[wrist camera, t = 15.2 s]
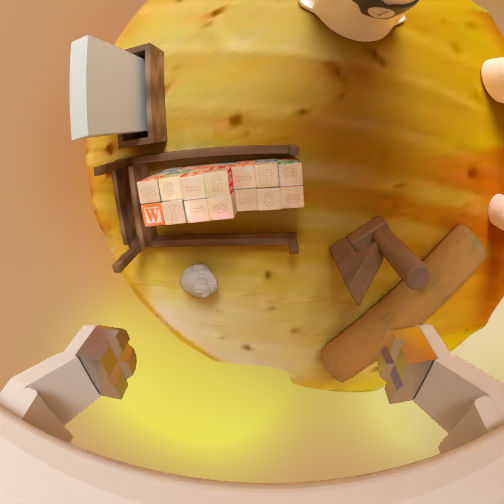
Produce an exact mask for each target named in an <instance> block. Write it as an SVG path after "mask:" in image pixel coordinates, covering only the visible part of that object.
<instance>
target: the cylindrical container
mask: <svg viewBox="0 0 504 504" xmlns="http://www.w3.org/2000/svg"><path fill="white" fill-rule="evenodd" d="M488 217H489V220H490V222H491V223H492V224H493V225H495V226H497V227H498V228H500V229H502V230H503V231H504V195H502V194H496V195H495V196H494V197H493V198H492V200H491V202H490V204H489V208H488Z"/></svg>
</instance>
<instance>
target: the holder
mask: <svg viewBox="0 0 504 504" xmlns="http://www.w3.org/2000/svg"><path fill="white" fill-rule="evenodd" d="M125 51H128V52H130V53H132V54H134V55H136V56H138V57H140V58H142V59H144V60H145V89H146V112H147V128H148V137H146V138H140V139H139V133H127V134H118V144H119V149H120V148H126V147H131V146H137V145H143V144H150V143H157V142H164V141H167V129H166V113H165V91H164V52H163V51H162V50H160V49H159V48H157V47H156V46H154V45H152V44H151V43H148V44H144V45H140V46H137V47H133V48H129V49H126V50H125Z"/></svg>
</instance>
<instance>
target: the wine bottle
mask: <svg viewBox="0 0 504 504" xmlns="http://www.w3.org/2000/svg"><path fill="white" fill-rule="evenodd" d="M481 77H482V81H483V84H484V86H485V89H486V90H487V92H488V94H489V95H490V96H491V97H492V98H493V99H494V100H495V101H497V102H500V103H504V57H502V58H496V59H489V60H487V61H485V62H484V63H483V65H482V68H481Z"/></svg>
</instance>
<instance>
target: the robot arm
mask: <svg viewBox="0 0 504 504" xmlns="http://www.w3.org/2000/svg"><path fill="white" fill-rule="evenodd" d="M418 1H419V0H299V4H300V5H301V6H302V7H304V8H305V9H307V10H309V11H311V12H313V13H314V14H316V15H317V16H318V17H319V18H320V20H321V21H322V22H323V23H324V24H325V25H326V26H327V27H329V28H330V29H331V30H333V31H334V32H336V33H338V34H339V35H341V36H344V37H346V38H349V39H352V40H356V41H362V42H371V41H376V40H379V39H382V38H383V37H385V36H386V35H387V34H388V33H389V32H390V31H391V29H392V28H393V27H394V26H395V25H398V24H400V23H402V22H403V21H404V20H405V14H406V13H407V12H408V11H409V10H410V9H411V8H413V7H414V6H415V5H416V4H417V2H418ZM129 339H130V338H129V336H128V333H127V331H126V330H124V329H121V328H113V327H107V326H100V325H99V326H98V325H92V324H86V325H84V326H83V328H82V329H81V330H80V331H79V333H78V334H77V335H76V337H75V338H74V339H73V341H72V342H71V343H70V344H69V346H68V347H67V348H66V350H65V351H64V352H63V353H58V354H56V355H54V356H52V357H50V358H48V359H46V360H44V361H43V362H41V363H39V364H37V365H35V366H33V367H31V368H30V369H28V370H26V371H24V372H22V373H20V374H18V375H16V376H14V377H13V378H11V379H10V380H9V382H8V383H7V385H6V386H5V387H4V389H3V390H2V392H1V393H0V504H504V383H502V382H500V381H499V380H497V379H495V378H494V377H492V376H491V375H489V374H487V373H485V372H483V371H482V370H480V369H478V368H477V367H475V366H473V365H472V364H470V363H468V362H466V361H465V360H463V359H461V358H460V357H458V356H456V355H454V356H452V355H451V354H450V352H449V350H448V349H447V347H446V346H445V344H444V343H443V341H442V339H441V338H440V336H439V335H438V333H437V332H436V330H435V329H434V327H433V326H432V325H431V324H429V323H428V324H422V325H416V326H410V327H403V328H395V329H388V330H387V332H386V333H385V337H384V341H385V343H386V345H385V346H384V347H383V348H382V349H381V350H380V353H379V356H378V370H379V374H380V377H381V378H382V379H383V380H385V381H386V382H387V383H386V386H385V391H386V394H387V397H388V400H389V403H390V404H393V403H399V402H404V401H410V400H413V401H414V402H415V403H416V404H417V405H418V406H419V407H420V408H422V410H424V411H425V412H426V413H427V414H428V415H429V416H430V417H431V418H432V419H433V420H435V421H436V422H437V423H438V424H439V425H440V426H441V427H442V428H443V429H444V430H446V431H447V432H448V433H449V434H448V435H447V436H446V437H445V438H444V440H443V441H442V442H441V443H440V445H439V446H438V448H439V451H440V454H438V455H435V456H432V457H429V458H427V459H424V460H420V461H417V462H413V463H410V464H407V465H403V466H400V467H395V468H392V469H387V470H383V471H378V472H374V473H369V474H364V475H358V476H352V477H345V478H338V479H331V480H322V481H311V482H294V483H245V482H244V483H243V482H229V481H217V480H208V479H200V478H193V477H186V476H181V475H175V474H169V473H165V472H160V471H155V470H150V469H147V468H143V467H139V466H135V465H131V464H128V463H124V462H121V461H118V460H114V459H111V458H108V457H105V456H102V455H99V454H96V453H94V452H91V451H88V450H85V449H83V448H80V447H78V446H75V445H73V444H71V443H70V442H71V440H72V438H73V437H72V434H71V433H70V432H69V431H68V429H67V428H66V427H65V426H64V425H65V424H67V423H68V422H69V421H70V420H72V419H73V418H74V417H75V416H77V415H78V414H79V413H80V412H82V411H83V410H84V409H85V408H87V407H88V406H89V405H90V404H92V403H93V402H94V401H95V400H97V399H98V398H99V397H100V395H102V396H107V397H112V398H117V399H122V397H123V395H124V393H125V390H126V388H127V386H128V383H127V380H126V379H128V378H129V377H131V376H132V375H133V373H134V371H135V369H136V362H137V361H136V354H135V351H134V349H133V348H132V347H131V346H130V345H129V344H128V341H129Z"/></svg>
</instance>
